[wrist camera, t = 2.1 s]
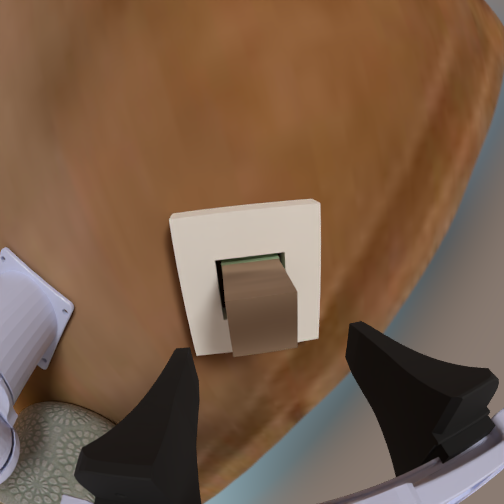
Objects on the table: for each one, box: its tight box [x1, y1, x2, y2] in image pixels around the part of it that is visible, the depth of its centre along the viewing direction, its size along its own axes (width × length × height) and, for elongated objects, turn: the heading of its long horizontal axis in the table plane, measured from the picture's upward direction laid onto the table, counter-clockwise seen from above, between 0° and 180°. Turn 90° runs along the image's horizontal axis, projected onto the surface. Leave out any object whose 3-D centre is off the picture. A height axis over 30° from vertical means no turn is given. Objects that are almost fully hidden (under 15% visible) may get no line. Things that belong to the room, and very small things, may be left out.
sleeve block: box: [169, 199, 321, 356], centre depth 19 cm, size 10×9×2 cm
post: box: [221, 253, 298, 357], centre depth 17 cm, size 4×4×6 cm
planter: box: [0, 401, 116, 504], centre depth 17 cm, size 17×17×15 cm
